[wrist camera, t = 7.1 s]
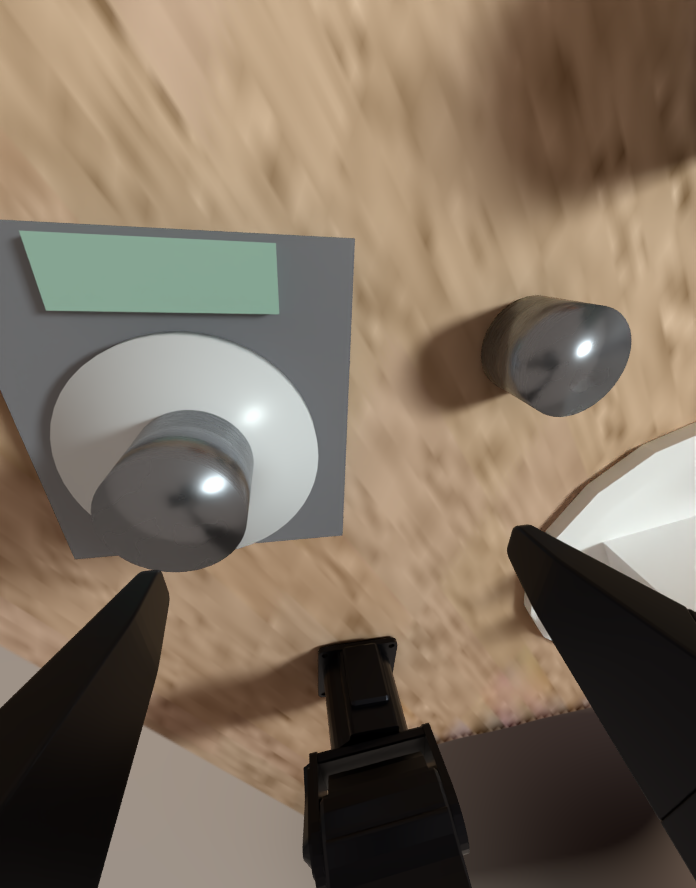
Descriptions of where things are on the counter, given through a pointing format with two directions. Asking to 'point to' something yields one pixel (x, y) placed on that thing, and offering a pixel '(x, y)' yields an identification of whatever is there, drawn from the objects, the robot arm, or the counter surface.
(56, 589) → the counter surface
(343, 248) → the scale
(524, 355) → the cylinder
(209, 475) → the cylinder
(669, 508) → the dish
